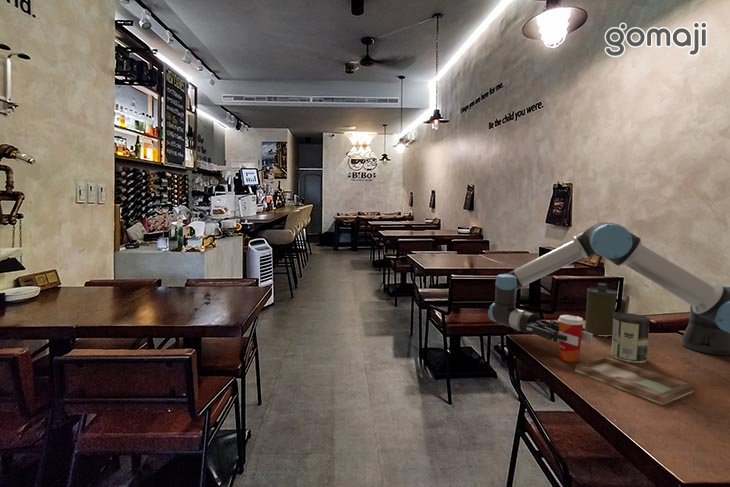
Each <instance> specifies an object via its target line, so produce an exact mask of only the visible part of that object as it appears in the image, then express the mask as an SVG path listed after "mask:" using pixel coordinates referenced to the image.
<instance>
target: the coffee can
mask: <svg viewBox="0 0 730 487" xmlns="http://www.w3.org/2000/svg"><path fill="white" fill-rule="evenodd" d="M613 317H614V318H613V334H612V338H611V352H610V355H612V356H613V358H614V357H615V358H614V359H615V360H618V359H619V360H618V361H621V360H622V361H621V362H625V361H626V362H625V363H630V362H631V363H632V364H644V363H647V361H648V347H649V346H648V345H649V333H650V332H649V331H650V323H651V318H650V317H648V316H645V315H641V314H638V313H637V314H636V313H629V312H628V313H627V312H615V314H613ZM612 356H611V357H612ZM631 363H630V364H631Z"/></svg>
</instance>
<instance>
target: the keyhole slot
mask: <svg viewBox="0 0 730 487" xmlns="http://www.w3.org/2000/svg"><path fill="white" fill-rule="evenodd" d="M574 372H576V373H578V374H581V375H584V376H586V377H589V378H591V379H594V380H597V381H599V382H601V383H605V384H607V385H609V386H611V387H614V388H616V389H620V390H623V391H625V392H628V393H630V394H632V395H635V396H637V397H640V398H643V399H645V400H648V401H650V402H652V403H656V404H659V405H660V406H664V405H667V404H669V403H671V402H673V401H675V400H678V399H681V398H684V397H685V396H688V395H690V394H693V393H694V389H695V388H694V387H695V384H691V383H689V382H686V381H683V380H679V379H677V378H673V377H670V376H667V375H664V374H661V373H658V372H656V371H652V370H649V369H646V368H644V367H643V368H641V367H639V366H636V365H632V364H631V363H630V364H629V363H628V362H625V361H621V360H618V359H616V358H611V357H608V356H602V357H598V358H595V359H591V360H588V361H584V362H580V363H577V364H576V363H575V369H574ZM645 380H648V381H651V382H654V383H657V384H660V385H662V386H665V387H668V388H671V390H669V391H666V392H664V393H663V392H660V391H657V390H655V389H652V388H649V387H646V386H644V385H641V384H638V383H640V382H643V381H645Z"/></svg>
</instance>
